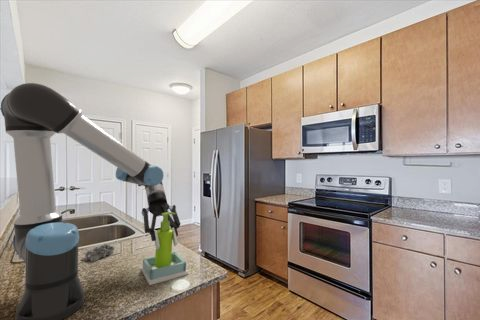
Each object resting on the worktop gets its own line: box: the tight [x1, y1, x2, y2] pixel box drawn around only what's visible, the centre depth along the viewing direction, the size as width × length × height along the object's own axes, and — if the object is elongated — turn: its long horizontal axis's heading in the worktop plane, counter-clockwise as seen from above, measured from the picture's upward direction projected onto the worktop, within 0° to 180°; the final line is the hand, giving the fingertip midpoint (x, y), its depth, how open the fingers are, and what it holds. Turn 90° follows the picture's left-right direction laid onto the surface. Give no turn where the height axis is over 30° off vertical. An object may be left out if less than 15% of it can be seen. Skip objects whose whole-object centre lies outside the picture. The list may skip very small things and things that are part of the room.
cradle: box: [140, 251, 189, 286], centre depth 88 cm, size 14×14×4 cm
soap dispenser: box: [154, 211, 176, 268], centre depth 88 cm, size 6×7×20 cm
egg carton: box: [83, 243, 116, 262], centre depth 102 cm, size 11×8×4 cm
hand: (167, 246), depth 85 cm, fingers closed on soap dispenser, 6 cm apart
